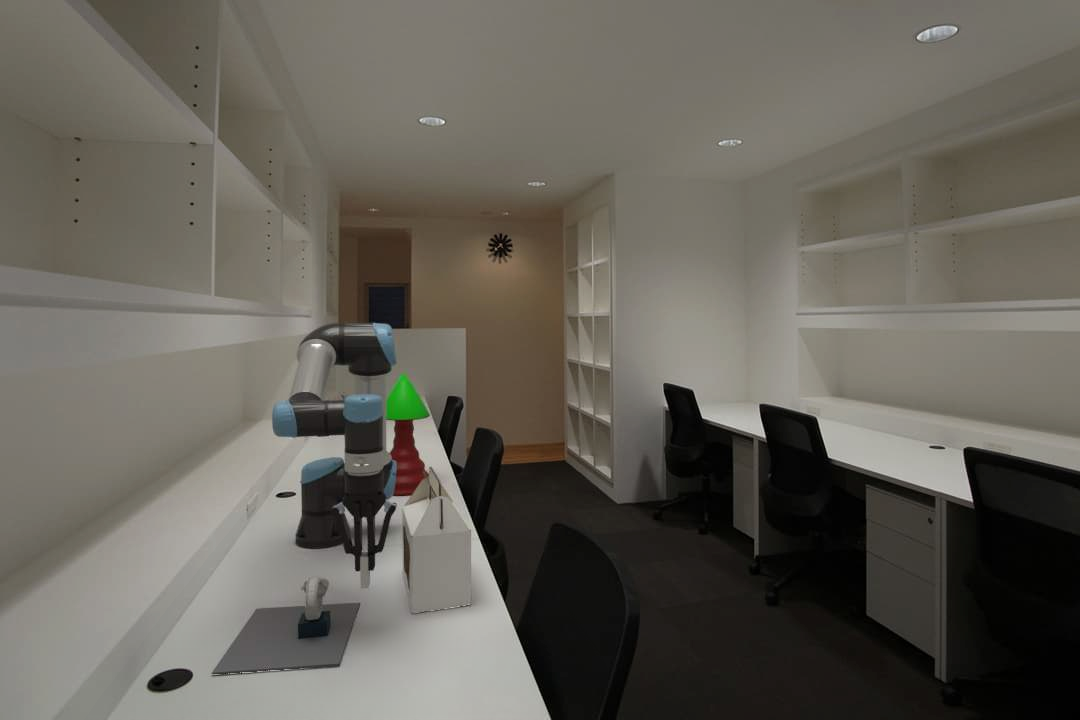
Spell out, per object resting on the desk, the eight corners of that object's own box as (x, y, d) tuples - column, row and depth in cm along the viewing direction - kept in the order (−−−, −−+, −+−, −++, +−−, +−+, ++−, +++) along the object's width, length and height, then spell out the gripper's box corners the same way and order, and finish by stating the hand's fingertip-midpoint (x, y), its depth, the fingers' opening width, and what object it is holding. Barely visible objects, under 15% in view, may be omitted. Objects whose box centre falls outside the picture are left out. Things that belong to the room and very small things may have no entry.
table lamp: (373, 485, 230) (372, 370, 227) (423, 479, 238) (423, 369, 235) (382, 498, 212) (381, 375, 209) (436, 492, 220) (436, 373, 217)
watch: (331, 620, 123) (330, 569, 123) (326, 640, 116) (325, 586, 115) (303, 623, 122) (302, 571, 122) (295, 643, 114) (295, 589, 114)
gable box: (402, 573, 148) (401, 465, 147) (454, 567, 153) (454, 461, 151) (411, 615, 127) (411, 488, 126) (471, 606, 131) (471, 484, 130)
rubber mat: (256, 611, 128) (256, 608, 128) (360, 605, 132) (360, 602, 132) (211, 676, 105) (211, 672, 105) (339, 666, 108) (339, 663, 108)
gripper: (326, 477, 114) (328, 595, 115) (395, 475, 115) (396, 592, 117) (334, 468, 121) (335, 579, 122) (398, 466, 123) (399, 576, 124)
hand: (365, 585), depth 119 cm, fingers closed
